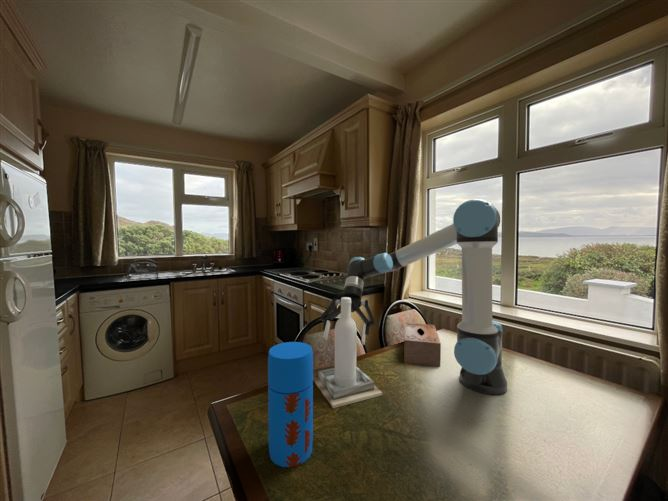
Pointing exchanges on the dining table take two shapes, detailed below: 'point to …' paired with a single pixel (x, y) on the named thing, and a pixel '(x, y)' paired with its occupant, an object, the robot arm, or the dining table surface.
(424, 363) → the tissue box cover
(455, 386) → the dining table surface
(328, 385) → the tray
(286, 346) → the thermos
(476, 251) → the robot arm
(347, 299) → the bottle
